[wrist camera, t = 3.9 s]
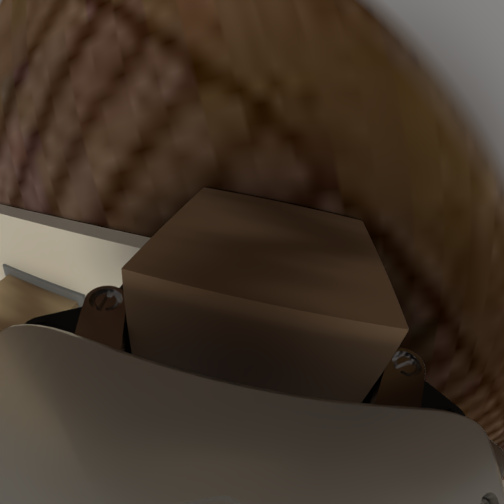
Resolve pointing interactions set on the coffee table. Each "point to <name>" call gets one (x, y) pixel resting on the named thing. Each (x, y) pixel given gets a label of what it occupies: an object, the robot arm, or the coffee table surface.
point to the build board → (63, 252)
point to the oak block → (28, 302)
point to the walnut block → (264, 297)
